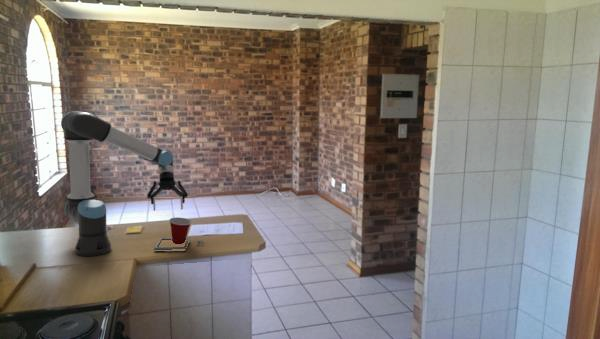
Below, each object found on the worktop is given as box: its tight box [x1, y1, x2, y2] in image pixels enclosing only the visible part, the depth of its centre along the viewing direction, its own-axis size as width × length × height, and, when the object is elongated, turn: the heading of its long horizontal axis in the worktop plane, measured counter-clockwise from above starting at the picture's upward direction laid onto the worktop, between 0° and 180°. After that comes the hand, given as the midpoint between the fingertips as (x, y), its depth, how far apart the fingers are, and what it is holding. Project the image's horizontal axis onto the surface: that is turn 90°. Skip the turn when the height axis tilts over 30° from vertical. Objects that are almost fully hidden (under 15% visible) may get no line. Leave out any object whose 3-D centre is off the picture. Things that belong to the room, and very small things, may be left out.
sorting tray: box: [153, 237, 190, 251], centre depth 208 cm, size 15×15×2 cm
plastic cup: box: [169, 217, 192, 244], centre depth 210 cm, size 11×11×12 cm
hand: (168, 208), depth 216 cm, fingers open, 13 cm apart
